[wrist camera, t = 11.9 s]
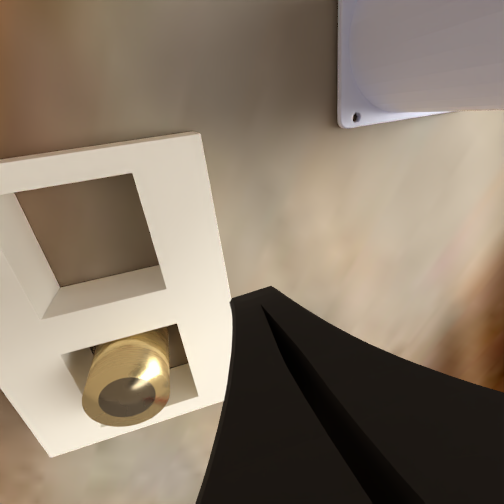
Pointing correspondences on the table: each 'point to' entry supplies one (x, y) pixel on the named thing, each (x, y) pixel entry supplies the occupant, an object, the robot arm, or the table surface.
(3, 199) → the jig plate
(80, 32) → the table surface
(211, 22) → the table surface
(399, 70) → the robot arm
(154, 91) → the table surface
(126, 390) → the brass bushing
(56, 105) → the table surface
